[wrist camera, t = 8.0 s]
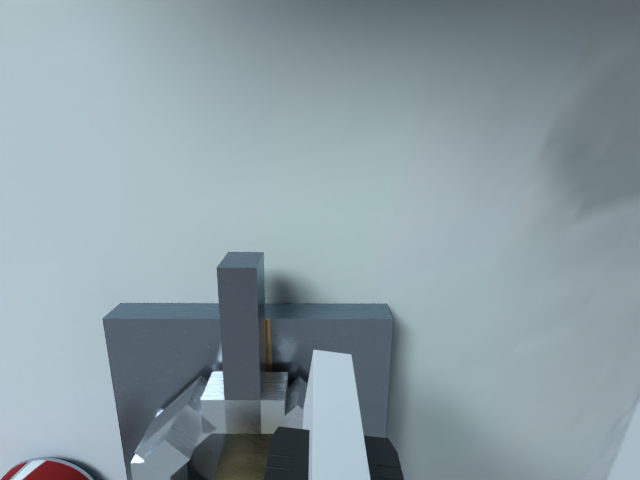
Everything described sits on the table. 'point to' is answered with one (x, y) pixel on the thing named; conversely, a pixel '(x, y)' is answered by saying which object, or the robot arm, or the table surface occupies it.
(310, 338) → the base plate
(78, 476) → the soda can
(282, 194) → the table surface
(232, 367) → the octagonal ring panel
